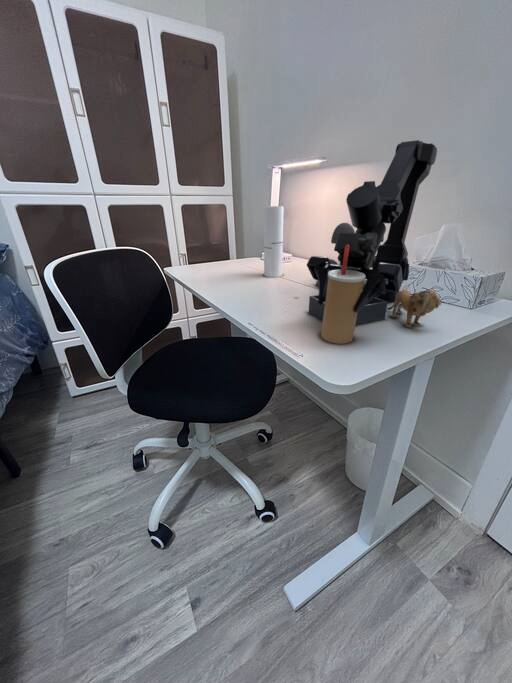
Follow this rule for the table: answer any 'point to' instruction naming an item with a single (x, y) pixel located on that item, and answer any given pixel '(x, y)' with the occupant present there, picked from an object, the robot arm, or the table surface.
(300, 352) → the table surface
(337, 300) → the takeaway cup
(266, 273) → the cylindrical container
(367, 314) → the bin
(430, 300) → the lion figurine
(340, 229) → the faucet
